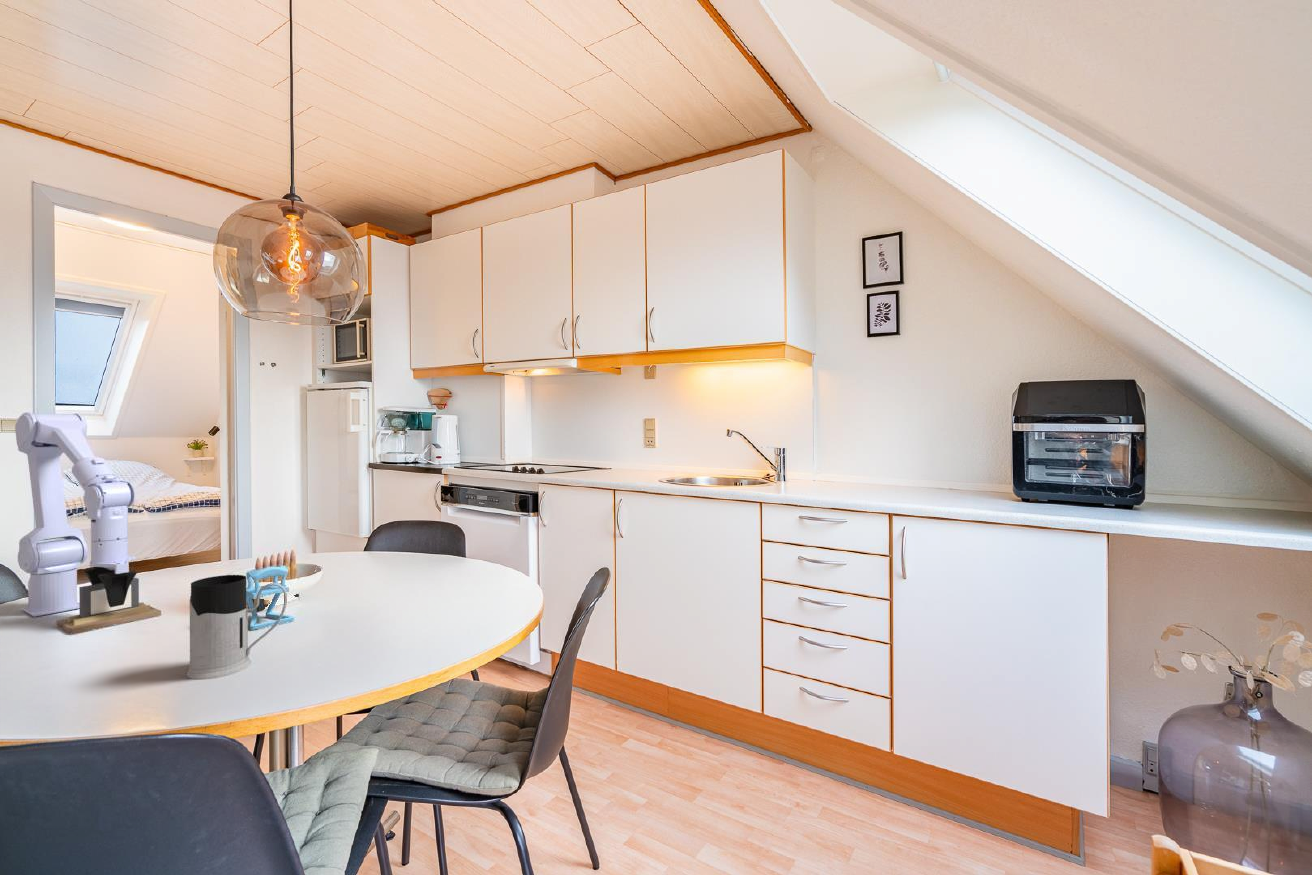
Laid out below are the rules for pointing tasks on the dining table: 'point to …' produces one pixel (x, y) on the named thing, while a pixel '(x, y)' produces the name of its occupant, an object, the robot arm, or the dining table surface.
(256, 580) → the chair
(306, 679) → the dining table surface
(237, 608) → the glass holder
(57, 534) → the robot arm
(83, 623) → the board
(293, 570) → the ammunition clip
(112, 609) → the grey upright slab
